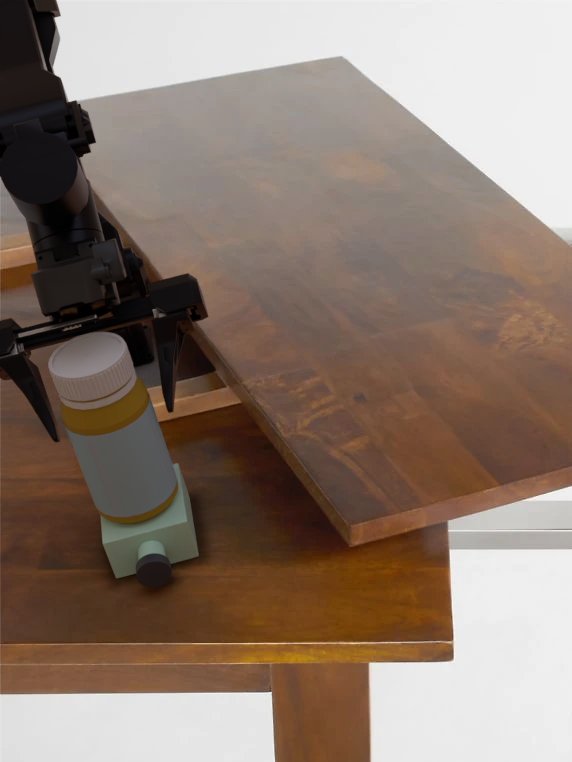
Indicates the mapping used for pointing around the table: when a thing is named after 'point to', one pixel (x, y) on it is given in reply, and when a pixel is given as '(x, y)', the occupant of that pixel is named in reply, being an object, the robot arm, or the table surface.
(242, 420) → the table surface
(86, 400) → the bottle
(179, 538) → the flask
